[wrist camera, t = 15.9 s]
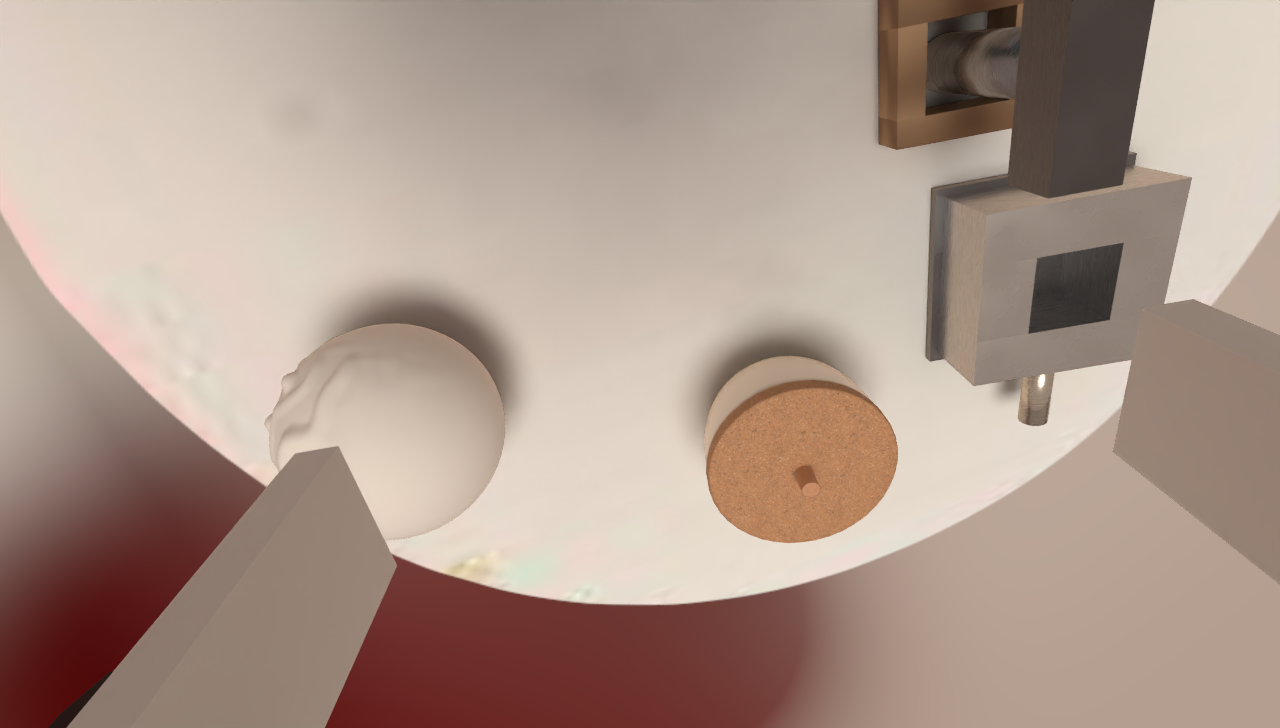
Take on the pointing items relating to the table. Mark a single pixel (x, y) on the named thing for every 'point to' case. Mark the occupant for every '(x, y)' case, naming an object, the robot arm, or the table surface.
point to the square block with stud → (1047, 277)
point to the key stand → (904, 67)
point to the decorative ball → (396, 422)
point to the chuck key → (1056, 87)
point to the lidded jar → (796, 450)
